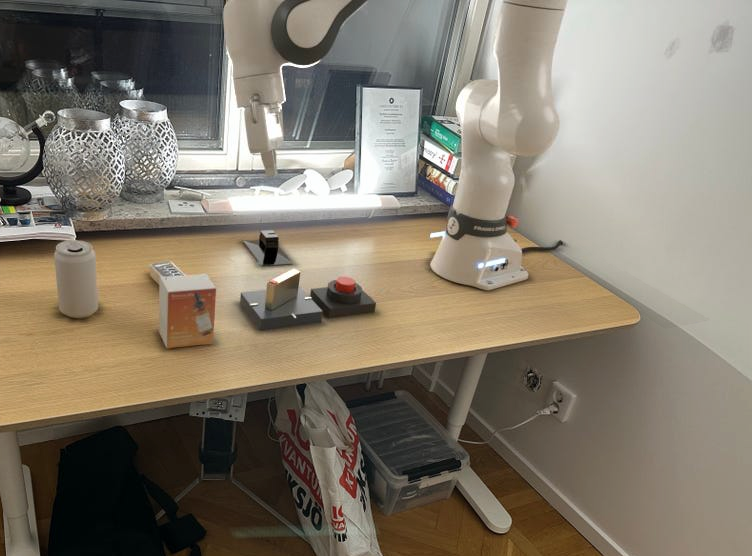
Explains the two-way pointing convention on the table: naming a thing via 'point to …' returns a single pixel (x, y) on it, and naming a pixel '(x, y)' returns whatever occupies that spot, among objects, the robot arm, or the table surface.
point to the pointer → (282, 289)
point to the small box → (186, 310)
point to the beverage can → (76, 278)
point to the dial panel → (280, 310)
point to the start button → (345, 284)
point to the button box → (342, 301)
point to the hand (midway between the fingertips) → (272, 175)
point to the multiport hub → (164, 270)
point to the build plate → (268, 250)
